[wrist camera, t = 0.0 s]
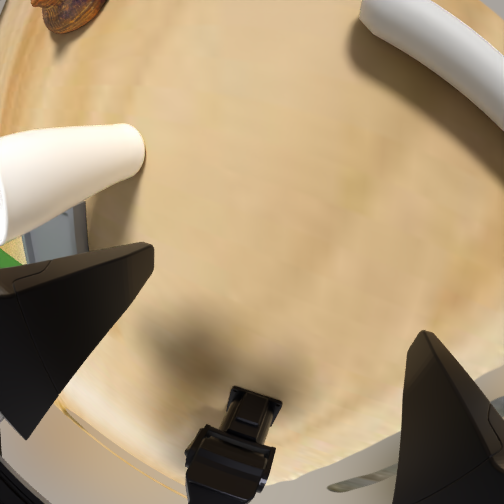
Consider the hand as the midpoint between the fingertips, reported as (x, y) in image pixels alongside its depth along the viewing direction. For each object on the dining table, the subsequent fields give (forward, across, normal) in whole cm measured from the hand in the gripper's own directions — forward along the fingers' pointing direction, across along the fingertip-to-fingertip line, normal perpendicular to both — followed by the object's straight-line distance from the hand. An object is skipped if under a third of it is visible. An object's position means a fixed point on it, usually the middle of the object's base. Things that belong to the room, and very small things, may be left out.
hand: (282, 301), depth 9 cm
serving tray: (+15, +31, +14) cm, 37 cm away
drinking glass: (+15, +18, 0) cm, 23 cm away
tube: (+15, -12, -12) cm, 23 cm away
